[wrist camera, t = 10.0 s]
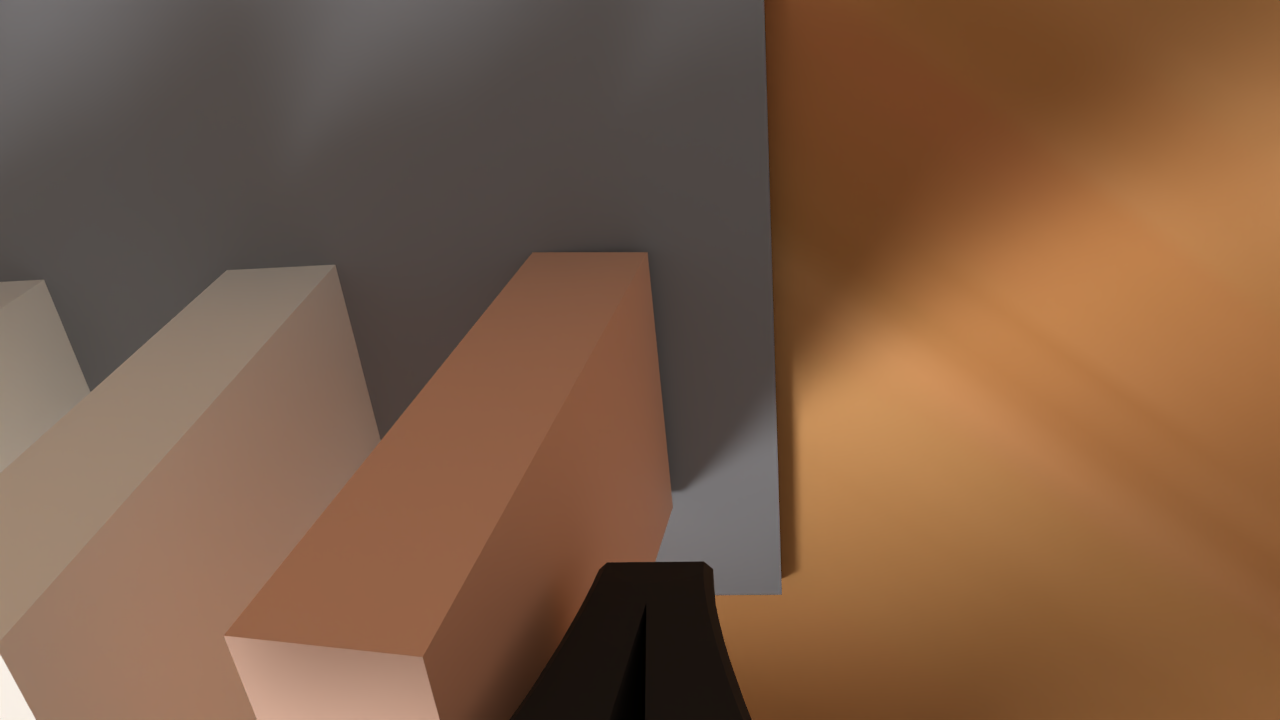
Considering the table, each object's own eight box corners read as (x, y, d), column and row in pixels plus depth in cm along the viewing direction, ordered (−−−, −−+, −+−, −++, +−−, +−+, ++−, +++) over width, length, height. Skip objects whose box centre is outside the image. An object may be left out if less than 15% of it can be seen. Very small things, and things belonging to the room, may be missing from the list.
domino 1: (335, 264, 17) (-4, 646, 9) (397, 505, 20) (170, 967, 12) (227, 270, 17) (-193, 646, 10) (301, 507, 20) (16, 961, 12)
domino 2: (647, 252, 16) (422, 656, 9) (672, 506, 19) (515, 996, 11) (532, 252, 17) (224, 635, 9) (571, 500, 19) (354, 964, 12)
